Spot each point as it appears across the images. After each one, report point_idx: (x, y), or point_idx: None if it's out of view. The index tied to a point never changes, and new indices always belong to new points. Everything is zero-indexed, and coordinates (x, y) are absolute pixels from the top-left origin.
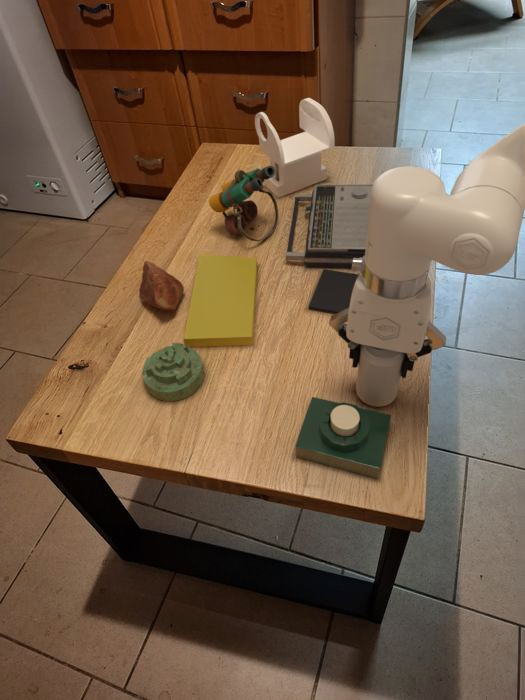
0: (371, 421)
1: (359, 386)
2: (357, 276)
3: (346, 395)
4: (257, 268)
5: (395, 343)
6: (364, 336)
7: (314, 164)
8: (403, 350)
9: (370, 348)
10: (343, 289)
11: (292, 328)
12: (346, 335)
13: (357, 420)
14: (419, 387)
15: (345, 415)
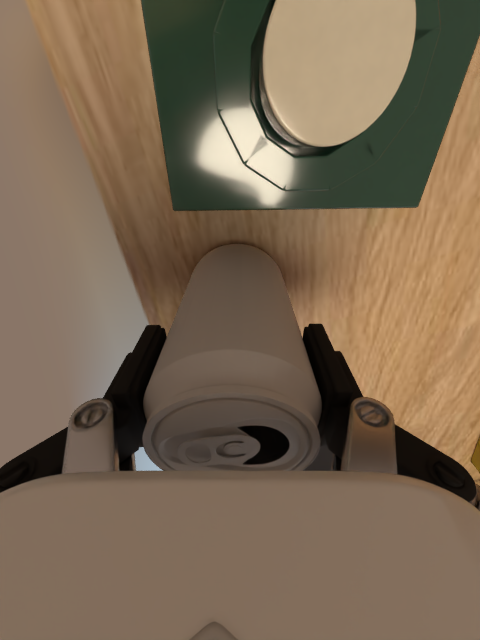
0: (222, 163)
1: (279, 278)
2: (308, 470)
3: (301, 259)
4: (472, 458)
5: (101, 593)
6: (397, 615)
7: None
8: (65, 504)
9: (285, 422)
10: (328, 453)
11: (420, 379)
12: (425, 473)
13: (272, 51)
14: (156, 318)
15: (335, 68)
